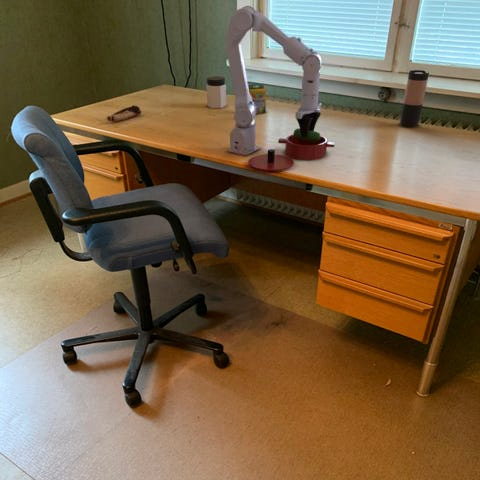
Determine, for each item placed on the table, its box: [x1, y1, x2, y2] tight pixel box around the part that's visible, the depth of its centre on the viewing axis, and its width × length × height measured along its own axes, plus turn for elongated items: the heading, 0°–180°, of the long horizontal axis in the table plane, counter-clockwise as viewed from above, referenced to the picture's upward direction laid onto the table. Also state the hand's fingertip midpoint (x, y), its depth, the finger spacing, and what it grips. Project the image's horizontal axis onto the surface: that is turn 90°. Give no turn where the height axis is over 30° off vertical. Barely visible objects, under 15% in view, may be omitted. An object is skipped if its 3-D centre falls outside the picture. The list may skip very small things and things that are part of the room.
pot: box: [277, 133, 336, 161], centre depth 174 cm, size 14×20×5 cm
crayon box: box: [248, 83, 267, 114], centre depth 216 cm, size 7×3×12 cm, turn 105°
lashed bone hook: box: [106, 104, 142, 122], centre depth 212 cm, size 9×5×18 cm
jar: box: [205, 75, 227, 109], centre depth 226 cm, size 9×8×12 cm
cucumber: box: [293, 127, 322, 142], centre depth 172 cm, size 10×3×3 cm, turn 55°
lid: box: [247, 148, 295, 172], centre depth 165 cm, size 15×15×5 cm
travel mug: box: [399, 69, 430, 129], centre depth 197 cm, size 8×8×20 cm
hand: (306, 135), depth 172 cm, fingers closed on cucumber, 3 cm apart
